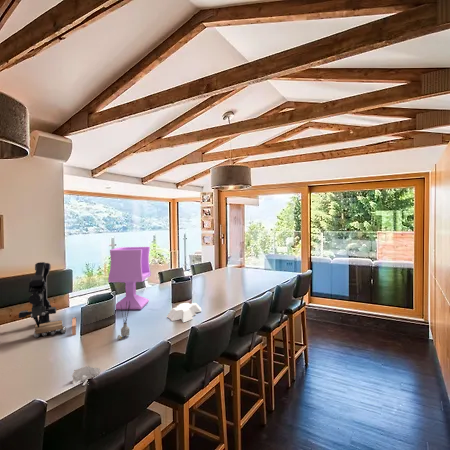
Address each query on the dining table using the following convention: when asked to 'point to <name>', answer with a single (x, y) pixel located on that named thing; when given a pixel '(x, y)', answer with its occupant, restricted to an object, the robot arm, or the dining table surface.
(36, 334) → the roller
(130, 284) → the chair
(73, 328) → the bar
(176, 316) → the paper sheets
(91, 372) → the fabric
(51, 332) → the roller
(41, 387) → the dining table surface
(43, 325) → the slab
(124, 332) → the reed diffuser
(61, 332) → the roller
